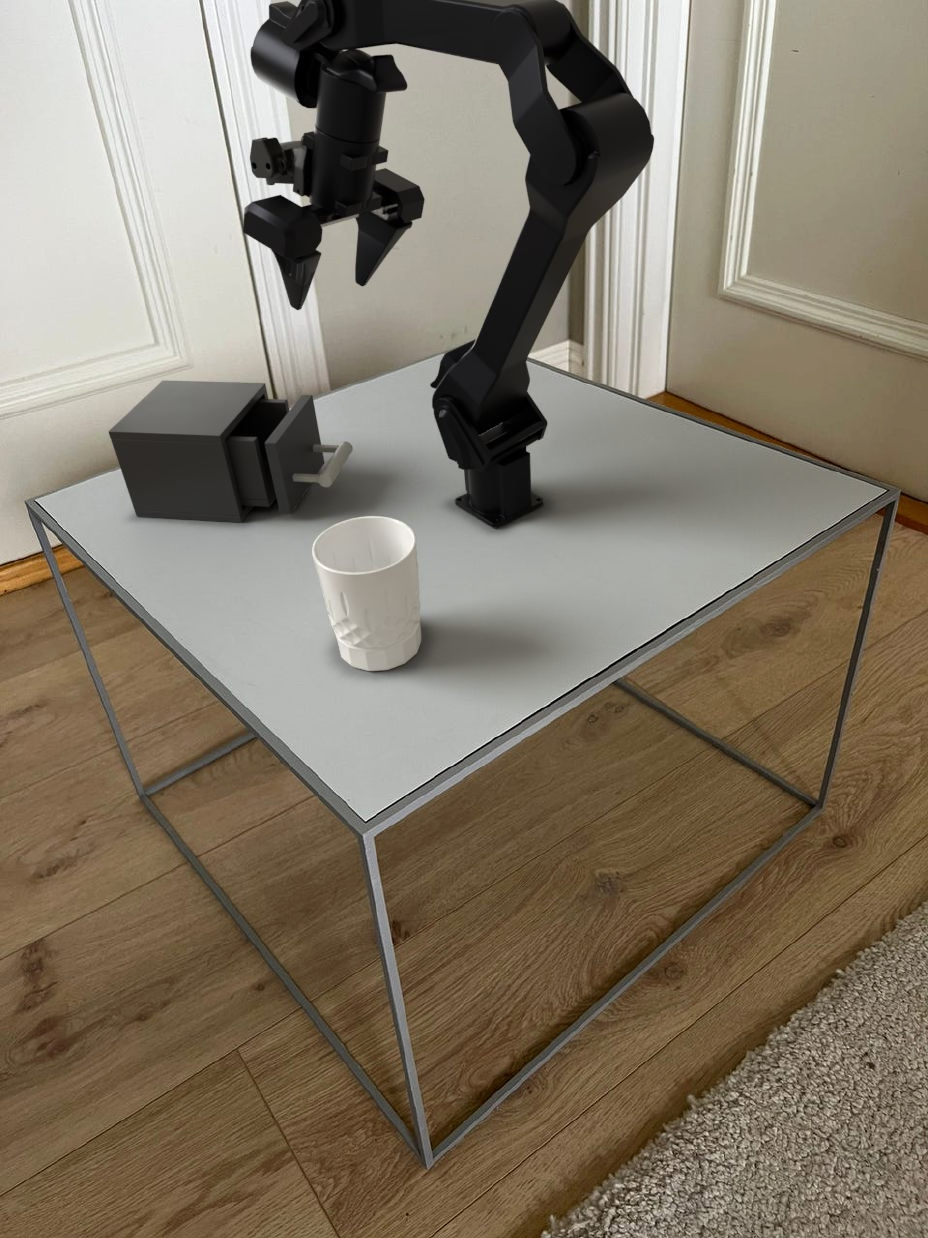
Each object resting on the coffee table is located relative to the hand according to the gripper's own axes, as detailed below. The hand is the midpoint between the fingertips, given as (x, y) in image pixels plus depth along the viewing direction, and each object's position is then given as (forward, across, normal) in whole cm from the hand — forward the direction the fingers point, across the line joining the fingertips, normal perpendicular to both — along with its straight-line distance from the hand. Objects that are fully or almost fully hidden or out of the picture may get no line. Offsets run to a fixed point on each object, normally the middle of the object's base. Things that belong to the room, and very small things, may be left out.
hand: (328, 295), depth 93 cm
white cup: (+11, +22, +29) cm, 38 cm away
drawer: (+17, +9, +4) cm, 20 cm away
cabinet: (+20, +12, -2) cm, 23 cm away
